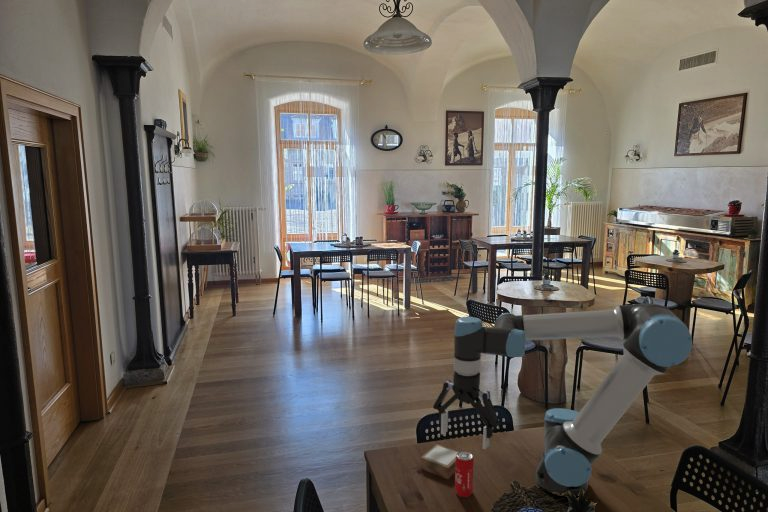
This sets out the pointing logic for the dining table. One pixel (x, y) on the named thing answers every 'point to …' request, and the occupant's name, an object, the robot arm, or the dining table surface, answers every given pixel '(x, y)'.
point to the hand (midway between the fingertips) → (464, 439)
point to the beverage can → (464, 474)
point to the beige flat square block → (440, 461)
